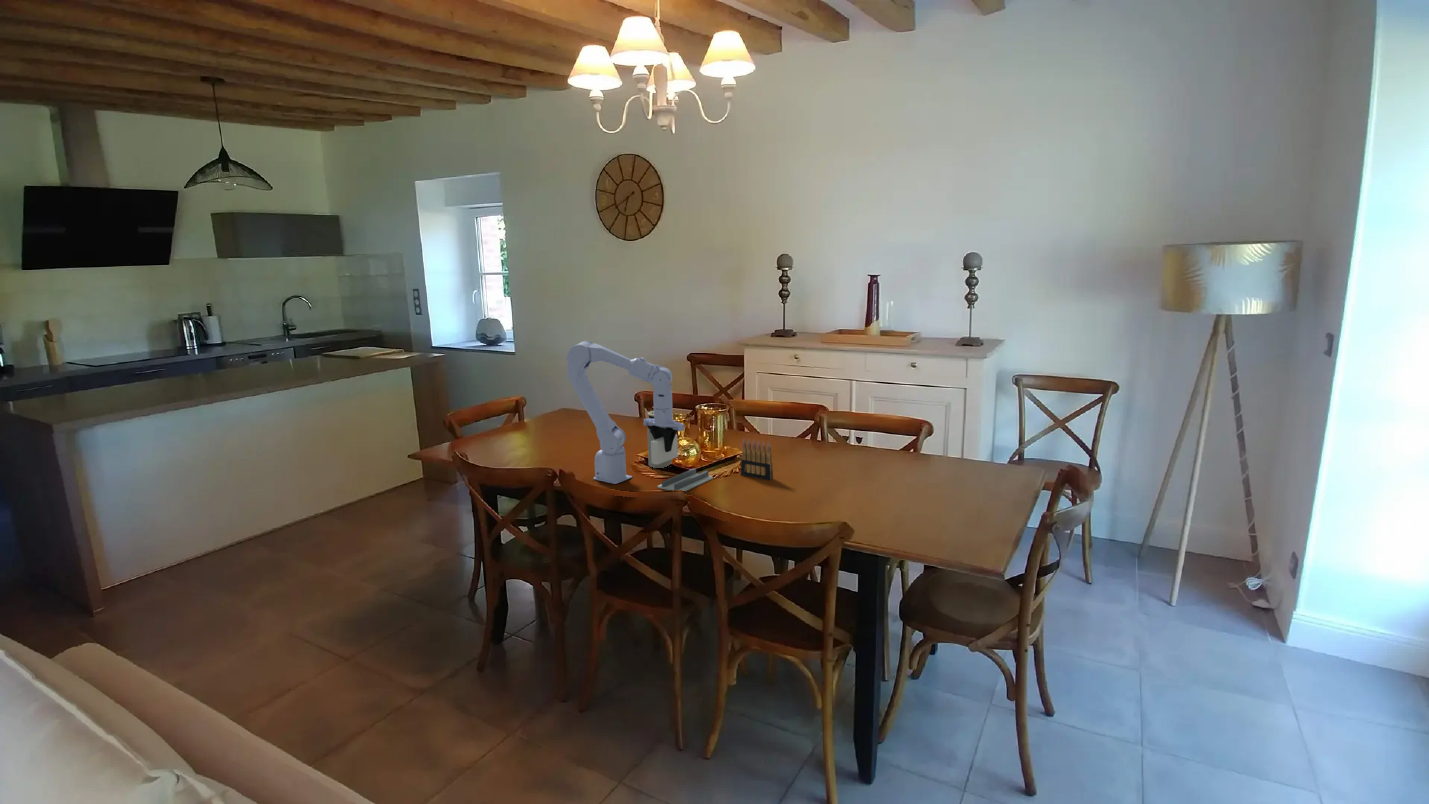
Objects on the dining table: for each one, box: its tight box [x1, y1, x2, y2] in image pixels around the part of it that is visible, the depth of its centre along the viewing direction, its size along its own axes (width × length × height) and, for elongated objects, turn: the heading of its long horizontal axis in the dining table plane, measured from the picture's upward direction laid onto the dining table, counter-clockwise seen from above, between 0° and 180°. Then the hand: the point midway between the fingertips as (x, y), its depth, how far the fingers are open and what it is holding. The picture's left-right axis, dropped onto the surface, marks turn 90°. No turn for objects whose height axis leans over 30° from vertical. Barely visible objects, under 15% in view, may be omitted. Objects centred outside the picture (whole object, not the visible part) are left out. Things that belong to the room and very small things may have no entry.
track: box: [657, 468, 714, 492], centre depth 223 cm, size 9×16×2 cm, turn 145°
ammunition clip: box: [740, 437, 774, 481], centre depth 227 cm, size 11×2×12 cm, turn 56°
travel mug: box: [646, 410, 674, 469], centre depth 239 cm, size 8×8×18 cm
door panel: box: [651, 434, 679, 465], centre depth 224 cm, size 2×10×7 cm, turn 145°
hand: (664, 450), depth 224 cm, fingers closed on door panel, 2 cm apart
